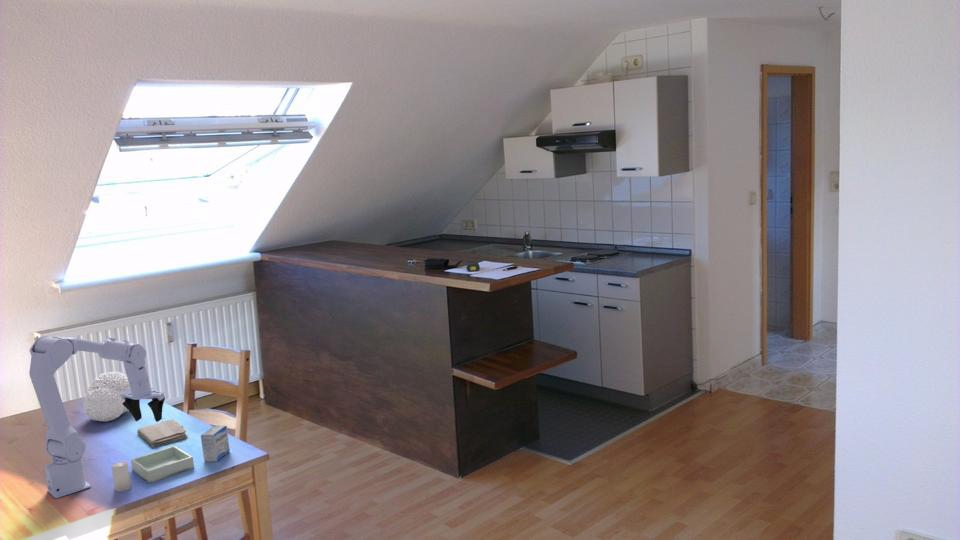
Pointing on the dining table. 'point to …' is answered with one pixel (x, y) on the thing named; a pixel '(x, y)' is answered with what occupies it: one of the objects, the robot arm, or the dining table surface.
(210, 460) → the medicine box
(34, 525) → the dining table surface
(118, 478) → the white capsule cylinder
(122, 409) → the cauliflower
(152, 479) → the tote
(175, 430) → the washcloth
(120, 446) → the dining table surface
